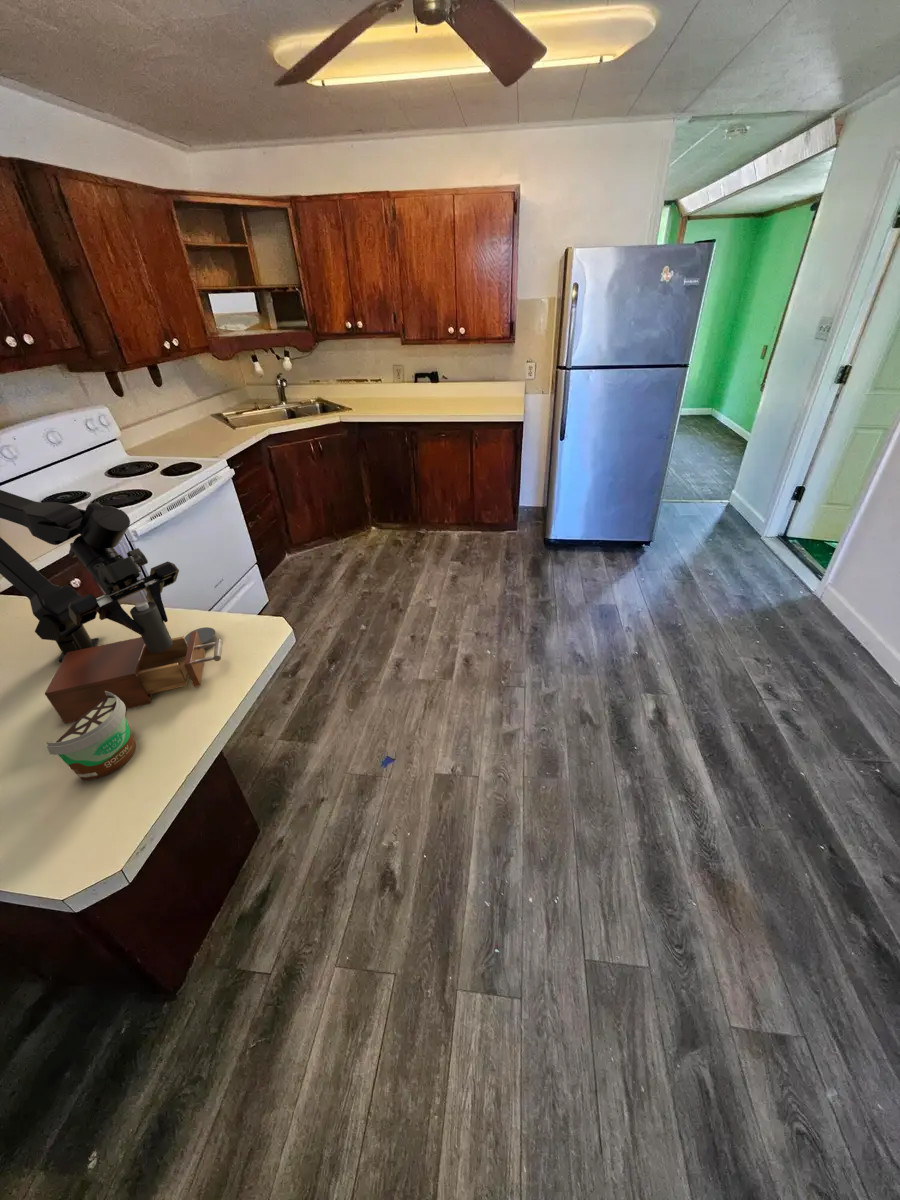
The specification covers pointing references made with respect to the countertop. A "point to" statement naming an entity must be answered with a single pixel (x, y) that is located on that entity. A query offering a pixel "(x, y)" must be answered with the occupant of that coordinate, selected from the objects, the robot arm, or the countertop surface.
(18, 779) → the countertop surface
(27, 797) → the countertop surface
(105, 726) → the food container
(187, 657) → the drawer
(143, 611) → the pepper mill
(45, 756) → the countertop surface
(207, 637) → the disc
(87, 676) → the cabinet
